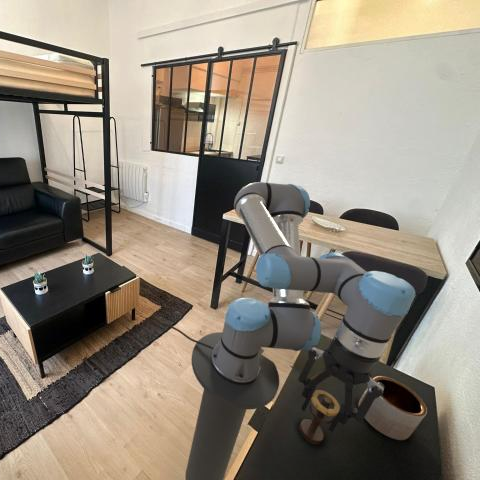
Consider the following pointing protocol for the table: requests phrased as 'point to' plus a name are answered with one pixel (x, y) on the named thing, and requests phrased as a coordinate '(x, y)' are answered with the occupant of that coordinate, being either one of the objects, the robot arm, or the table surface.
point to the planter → (395, 409)
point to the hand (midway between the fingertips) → (317, 416)
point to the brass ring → (320, 407)
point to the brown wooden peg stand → (315, 423)
